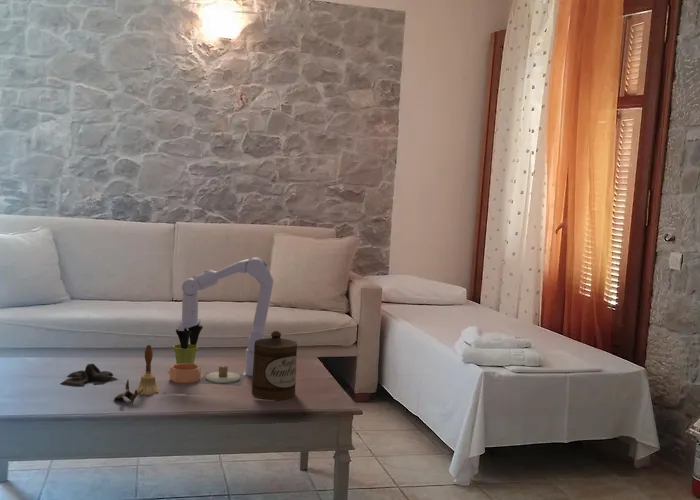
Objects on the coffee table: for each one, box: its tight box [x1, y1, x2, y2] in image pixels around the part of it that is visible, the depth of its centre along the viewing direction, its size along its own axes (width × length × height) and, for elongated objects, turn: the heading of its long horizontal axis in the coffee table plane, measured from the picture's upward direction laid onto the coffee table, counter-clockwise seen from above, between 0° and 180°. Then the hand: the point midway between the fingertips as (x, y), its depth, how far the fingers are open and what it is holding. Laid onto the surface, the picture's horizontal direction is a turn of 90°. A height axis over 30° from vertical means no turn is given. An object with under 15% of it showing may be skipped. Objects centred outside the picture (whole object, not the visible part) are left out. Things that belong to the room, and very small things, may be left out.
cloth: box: [59, 363, 119, 388], centre depth 263 cm, size 22×19×6 cm
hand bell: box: [135, 344, 160, 396], centre depth 252 cm, size 8×8×16 cm
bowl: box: [169, 363, 202, 384], centre depth 268 cm, size 10×10×5 cm
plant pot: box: [172, 343, 199, 364], centre depth 285 cm, size 9×9×9 cm
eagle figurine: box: [113, 379, 143, 405], centre depth 240 cm, size 8×7×9 cm
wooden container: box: [251, 330, 298, 401], centre depth 256 cm, size 15×15×22 cm
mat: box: [197, 372, 247, 387], centre depth 271 cm, size 15×15×1 cm
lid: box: [205, 365, 240, 383], centre depth 271 cm, size 12×12×4 cm
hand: (188, 346), depth 279 cm, fingers open, 7 cm apart
